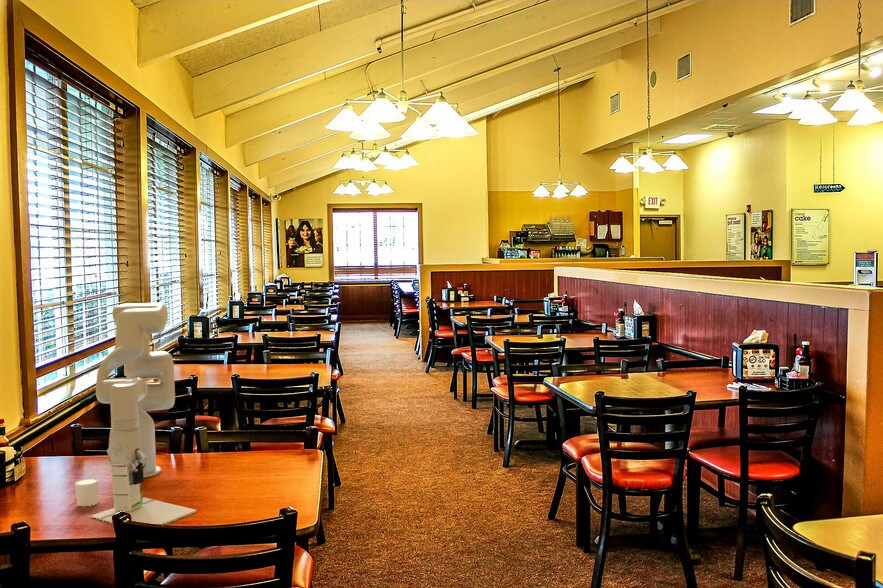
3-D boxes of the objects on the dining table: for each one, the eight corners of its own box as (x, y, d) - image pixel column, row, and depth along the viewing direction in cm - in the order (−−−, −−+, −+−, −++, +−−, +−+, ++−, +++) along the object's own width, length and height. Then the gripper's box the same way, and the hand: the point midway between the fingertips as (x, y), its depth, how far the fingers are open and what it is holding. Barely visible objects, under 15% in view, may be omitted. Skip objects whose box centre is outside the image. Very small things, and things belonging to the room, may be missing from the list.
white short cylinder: (83, 509, 216) (82, 486, 215) (70, 505, 219) (69, 482, 219) (104, 502, 222) (103, 480, 221) (91, 498, 225) (90, 476, 225)
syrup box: (130, 511, 210) (127, 463, 210) (113, 511, 212) (110, 462, 211) (143, 505, 216) (140, 457, 215) (125, 504, 217) (123, 457, 217)
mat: (90, 517, 208) (90, 515, 208) (144, 499, 224) (143, 497, 224) (144, 532, 196) (143, 530, 196) (196, 511, 212) (196, 509, 212)
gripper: (95, 423, 214) (98, 479, 215) (132, 431, 205) (135, 489, 206) (118, 418, 220) (120, 472, 221) (155, 425, 211) (157, 481, 213)
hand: (127, 480), depth 214 cm, fingers open, 9 cm apart
